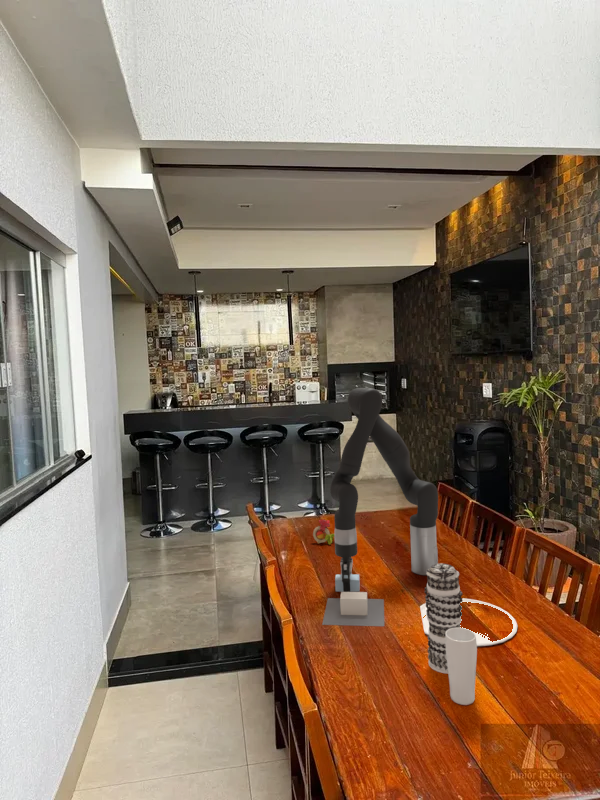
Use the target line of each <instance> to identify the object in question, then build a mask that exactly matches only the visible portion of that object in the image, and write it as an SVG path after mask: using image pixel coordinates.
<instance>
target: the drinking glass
mask: <svg viewBox="0 0 600 800" xmlns="http://www.w3.org/2000/svg"><path fill="white" fill-rule="evenodd" d="M445 650H446V659H447V668H448V675H447V676H448V683H449V697H450V699H451V701H453V703H456V704H458V705H461V706H469V705H472V704H473V703H474V701H475V699H476V696H475V695H476V693H475V692H476V691H475V690H476V675H477V674H476V673H477V671H476V670H477V660H478V659H477V658H478V646H477V642H476V635H475V633H474V632H473V631H471V630H469V629H466V628H460V627H456V628H450V629H448V630H447V631H446V633H445Z"/></svg>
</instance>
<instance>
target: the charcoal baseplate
mask: <svg viewBox="0 0 600 800" xmlns="http://www.w3.org/2000/svg"><path fill="white" fill-rule="evenodd" d="M367 603H368V613H367V615H341V607H340V598H339V597H338V598H336V597H331V598H330V597H327V601H326V604H325V605H326V606H325V610H324V614H323V620H322V626H350V627H351V626H358V627H360V626H361V627H385V599H384V598H367Z"/></svg>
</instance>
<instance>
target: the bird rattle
mask: <svg viewBox="0 0 600 800" xmlns="http://www.w3.org/2000/svg"><path fill="white" fill-rule="evenodd" d="M318 523H319V524H320V525H317V526H316V527H315V528H314V529H313V533H312V536H313V539H314V541H316V542H317V544H318V545H319V544H321V543H326V542H327V544H328V545H331V544H332V543H333V540H334V533H330V530H329V529H328V528H330V527H331V524H330V519H329V520H328V519H327V520H326V519H319V520H318Z"/></svg>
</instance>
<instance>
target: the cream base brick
mask: <svg viewBox="0 0 600 800" xmlns="http://www.w3.org/2000/svg"><path fill="white" fill-rule="evenodd" d="M367 599H368V592H367V591H360V592H340V607H341V615H367V613H368V603H367Z"/></svg>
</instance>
